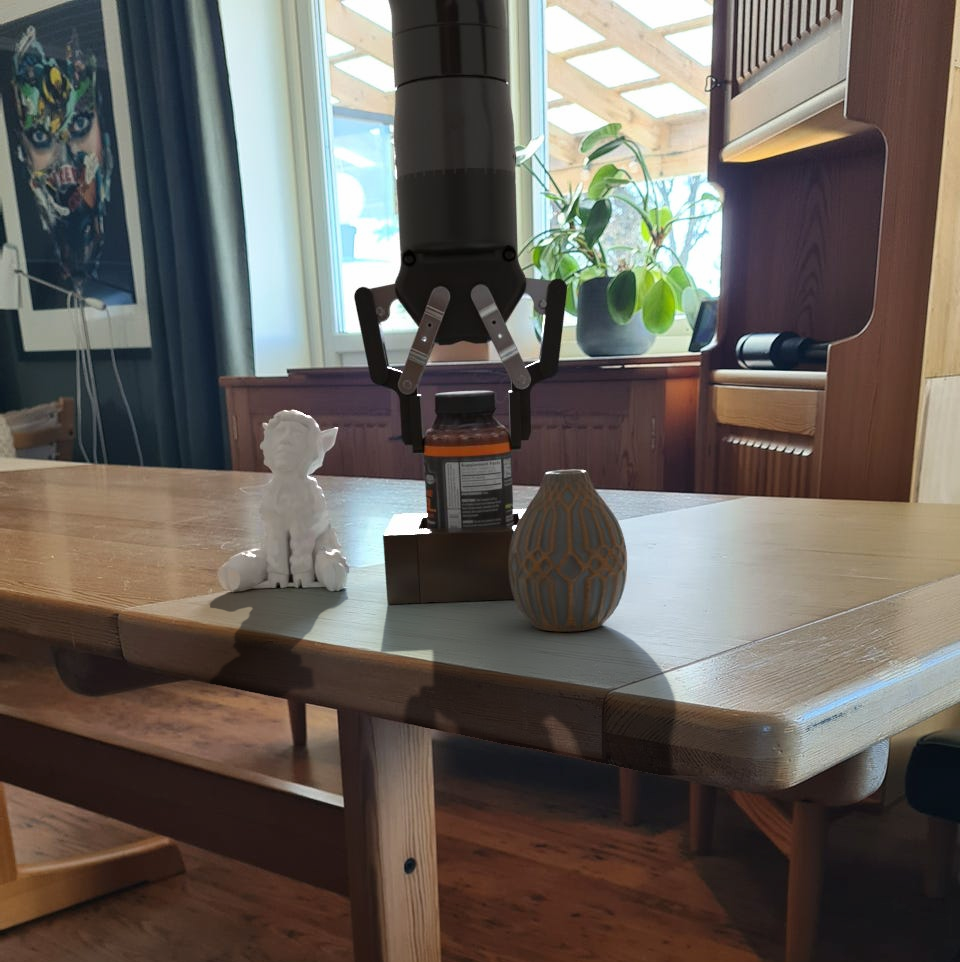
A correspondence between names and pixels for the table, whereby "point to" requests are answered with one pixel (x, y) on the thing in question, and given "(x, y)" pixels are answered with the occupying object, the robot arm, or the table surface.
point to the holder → (446, 561)
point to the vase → (567, 556)
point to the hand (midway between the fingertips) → (467, 450)
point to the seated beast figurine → (291, 515)
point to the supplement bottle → (467, 463)
